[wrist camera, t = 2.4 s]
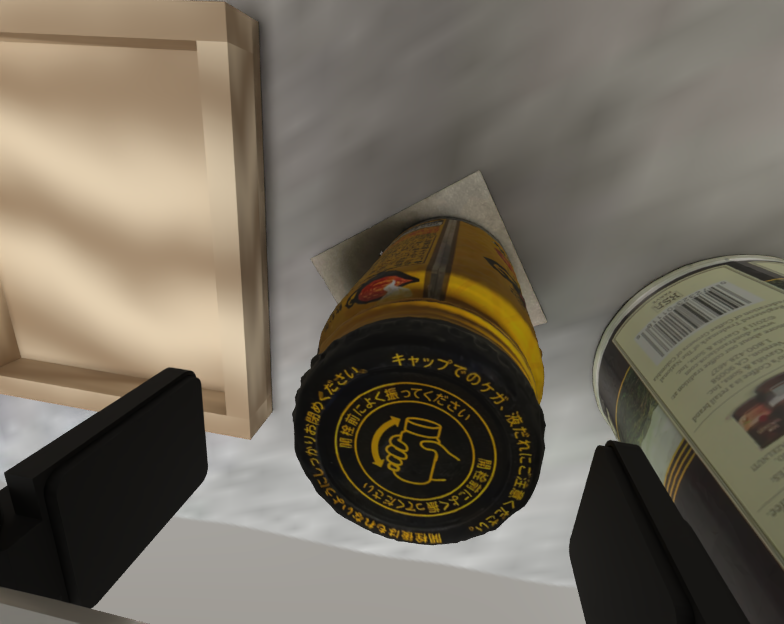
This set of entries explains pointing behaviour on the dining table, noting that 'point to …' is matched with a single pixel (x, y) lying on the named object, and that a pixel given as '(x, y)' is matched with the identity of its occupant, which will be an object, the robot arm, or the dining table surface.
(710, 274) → the coffee can
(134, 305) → the tray
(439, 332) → the condiment
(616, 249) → the dining table surface
